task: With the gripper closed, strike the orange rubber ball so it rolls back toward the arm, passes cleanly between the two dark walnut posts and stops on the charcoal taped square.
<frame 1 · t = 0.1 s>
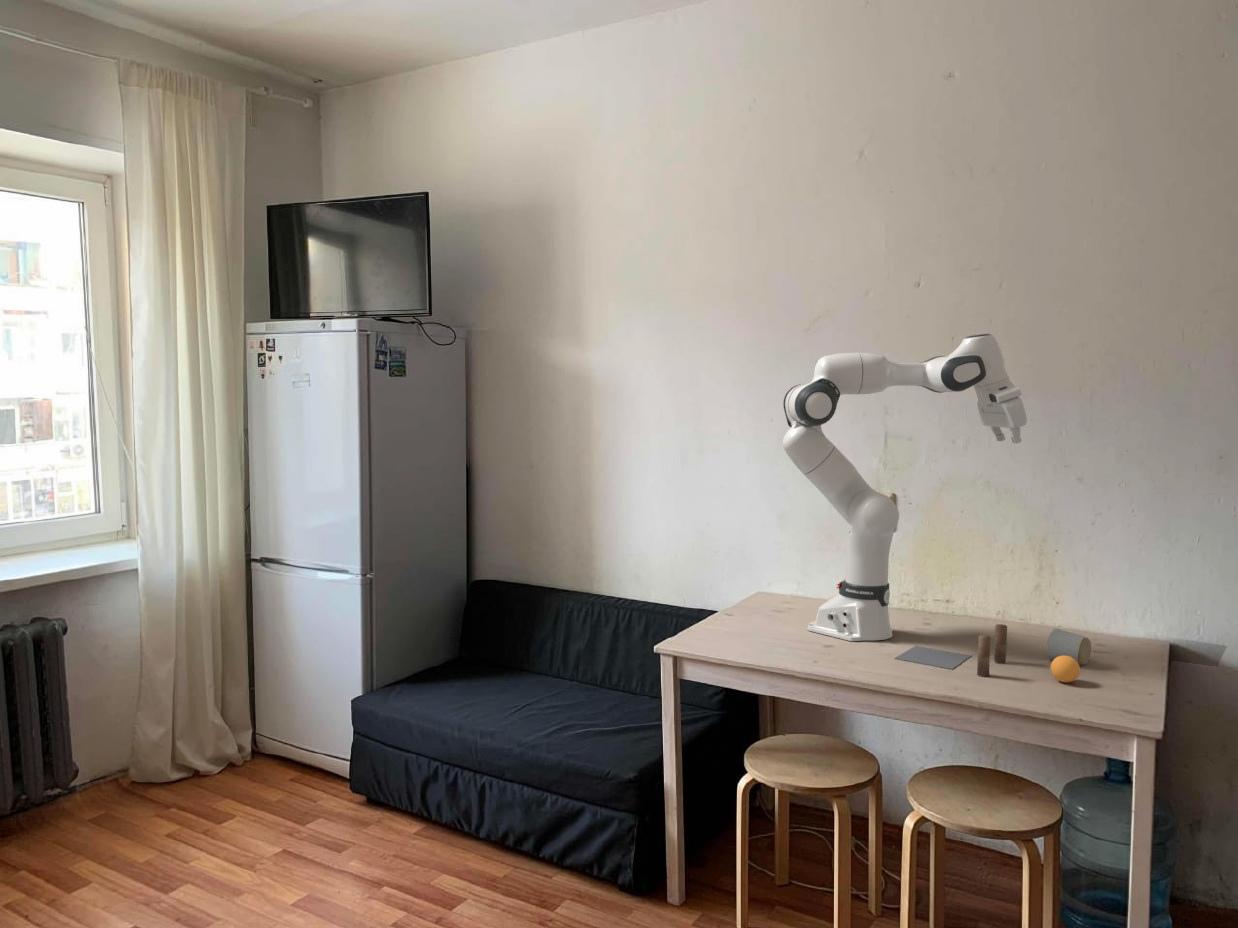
hand: (1009, 441, 247), 52 cm above the table, tool tilted 20°, fingers open, 8 cm apart
post near: (983, 674, 215), on the table
grey cylinder: (1069, 662, 226), on the table
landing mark: (933, 657, 229), on the table
post far: (999, 661, 225), on the table
ball: (1065, 668, 210), on the table
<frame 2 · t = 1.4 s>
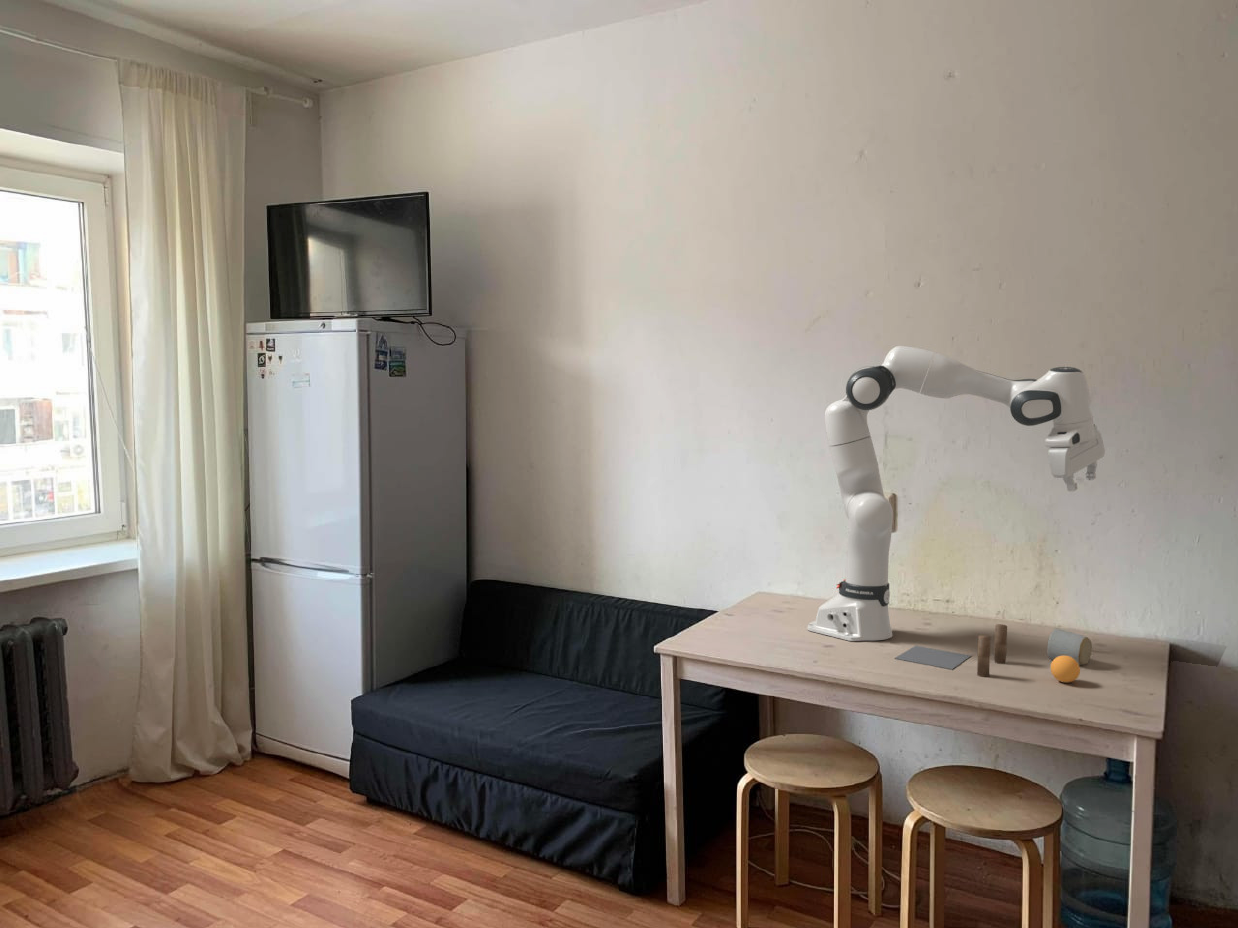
hand: (1082, 485, 231), 42 cm above the table, tool pointing down, fingers open, 8 cm apart
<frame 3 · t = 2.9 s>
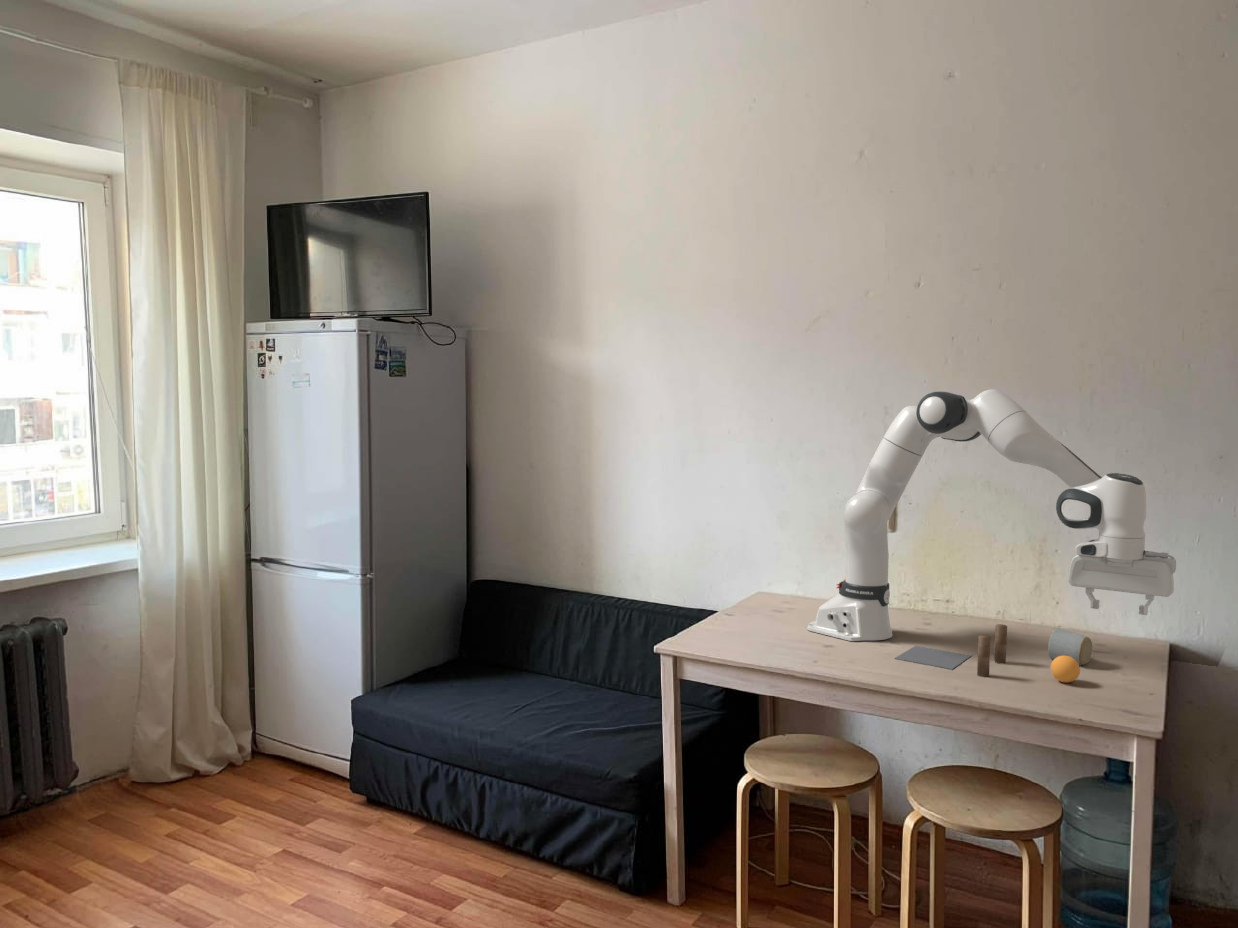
hand: (1118, 611, 203), 18 cm above the table, tool pointing down, fingers open, 8 cm apart
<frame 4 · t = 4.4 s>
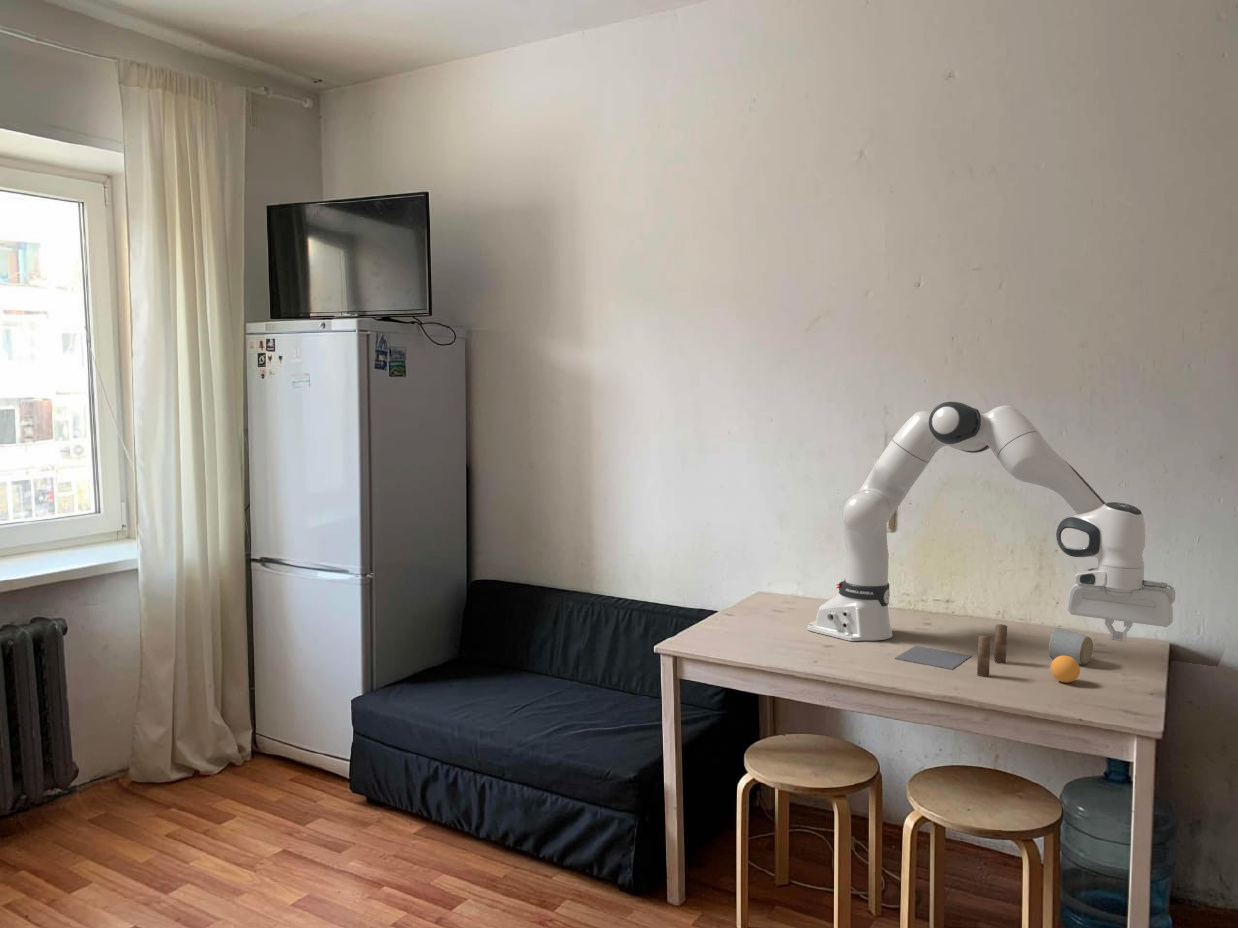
hand: (1118, 640, 203), 11 cm above the table, tool pointing down, fingers closed
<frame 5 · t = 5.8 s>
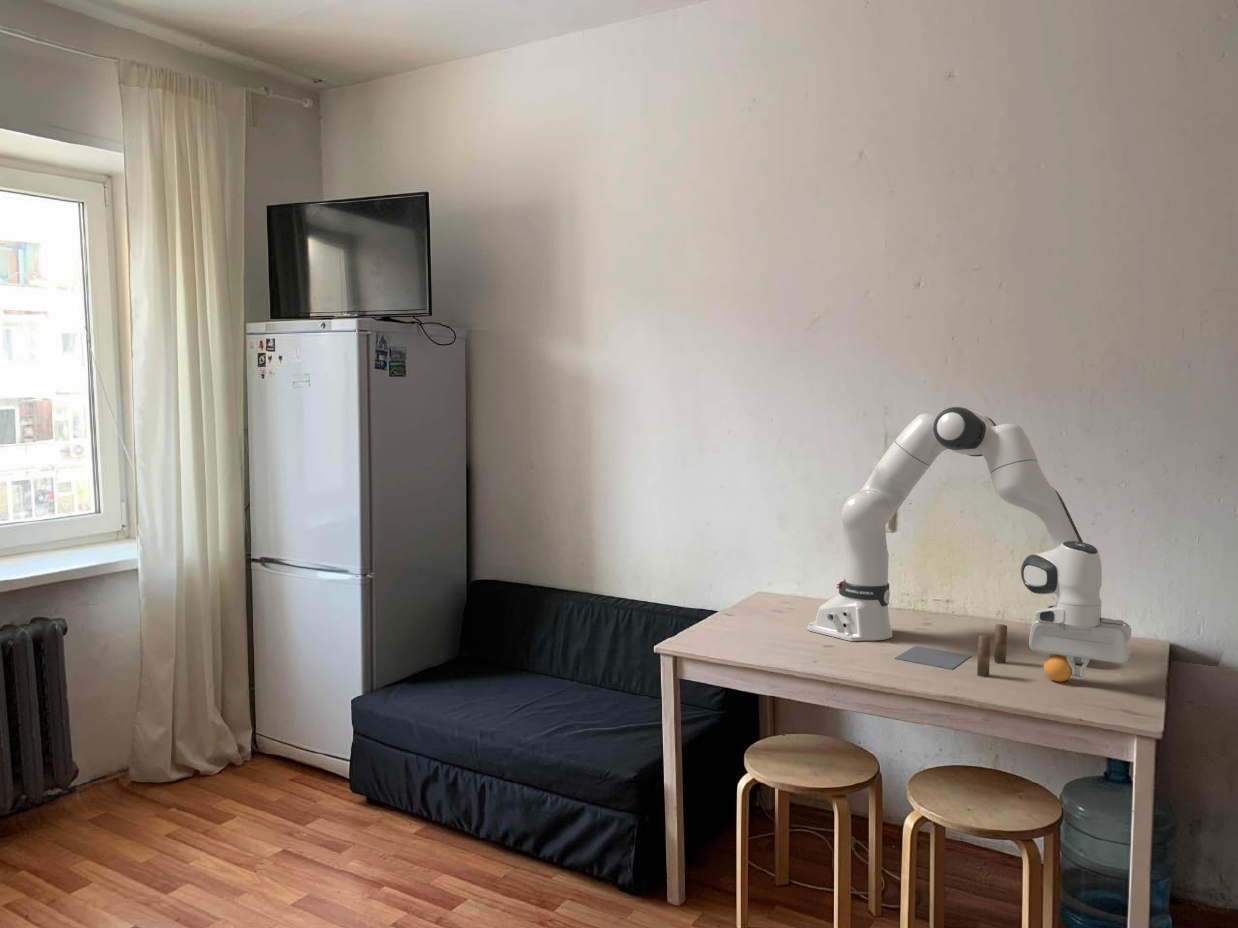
hand: (1077, 676, 208), 2 cm above the table, tool pointing down, fingers closed
ball: (1058, 667, 211), on the table, touching gripper
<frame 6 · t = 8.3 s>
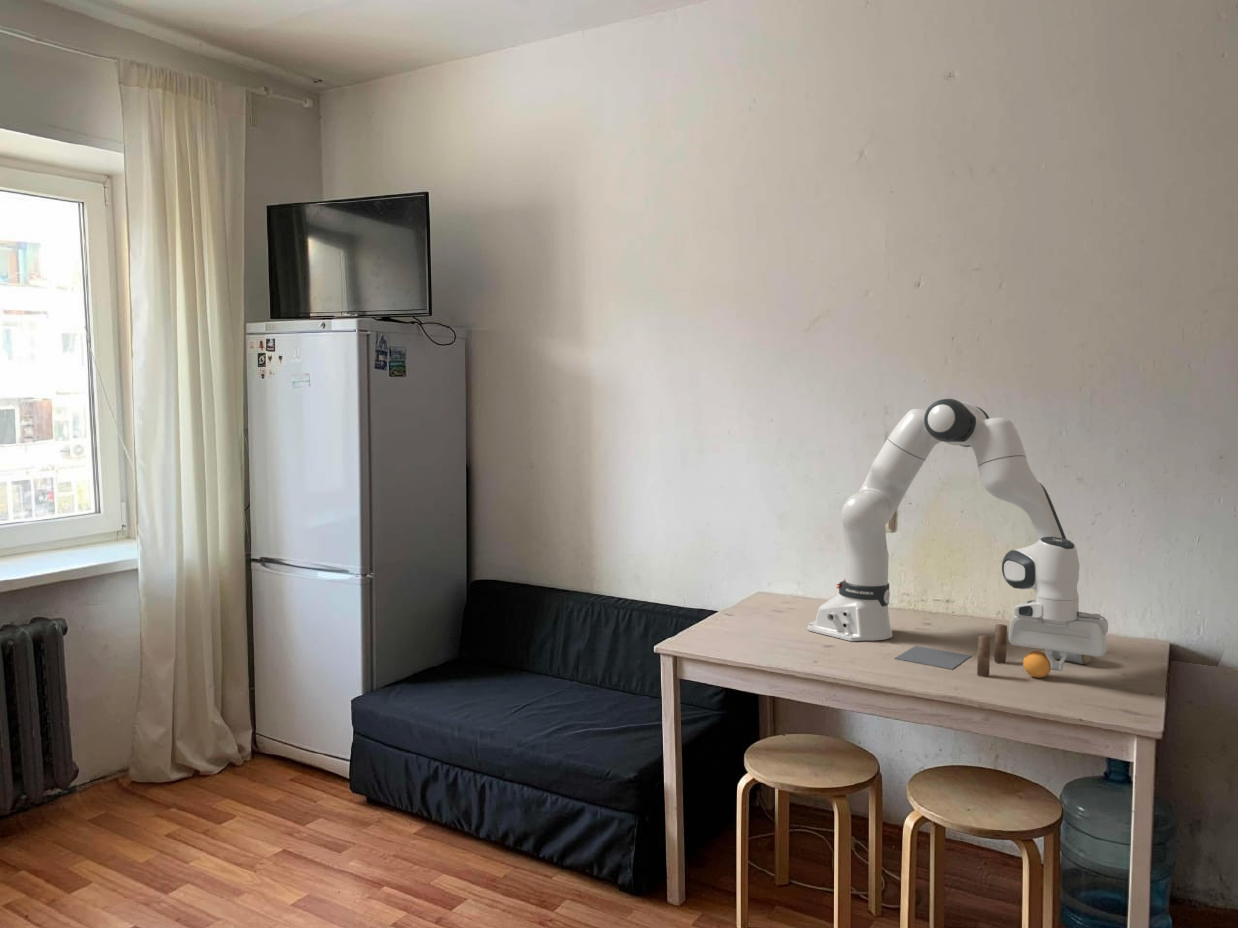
hand: (1056, 669, 211), 2 cm above the table, tool pointing down, fingers closed
ball: (1037, 664, 214), on the table, touching gripper
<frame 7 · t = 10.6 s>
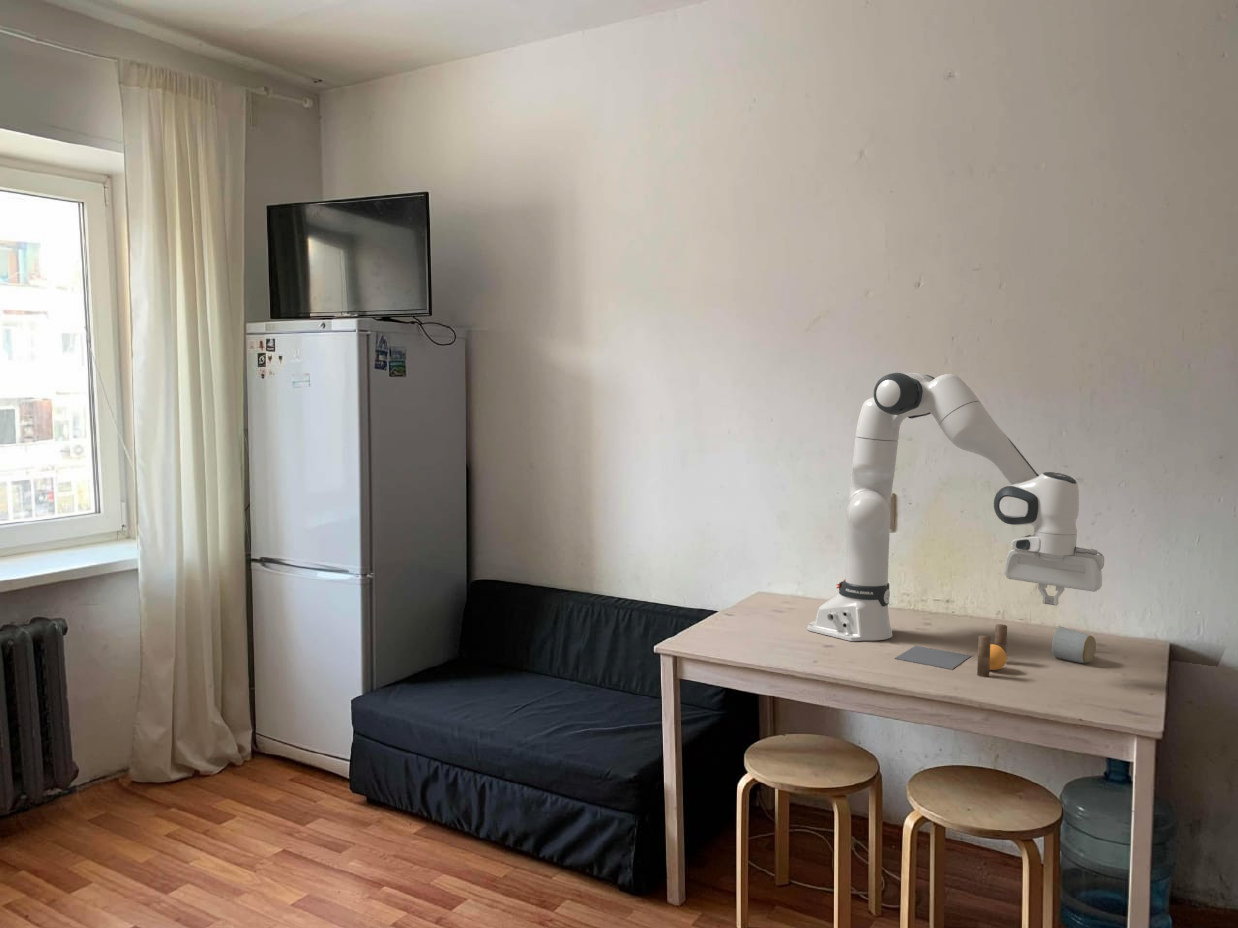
hand: (1050, 604, 212), 17 cm above the table, tool pointing down, fingers closed
ball: (992, 657, 219), on the table
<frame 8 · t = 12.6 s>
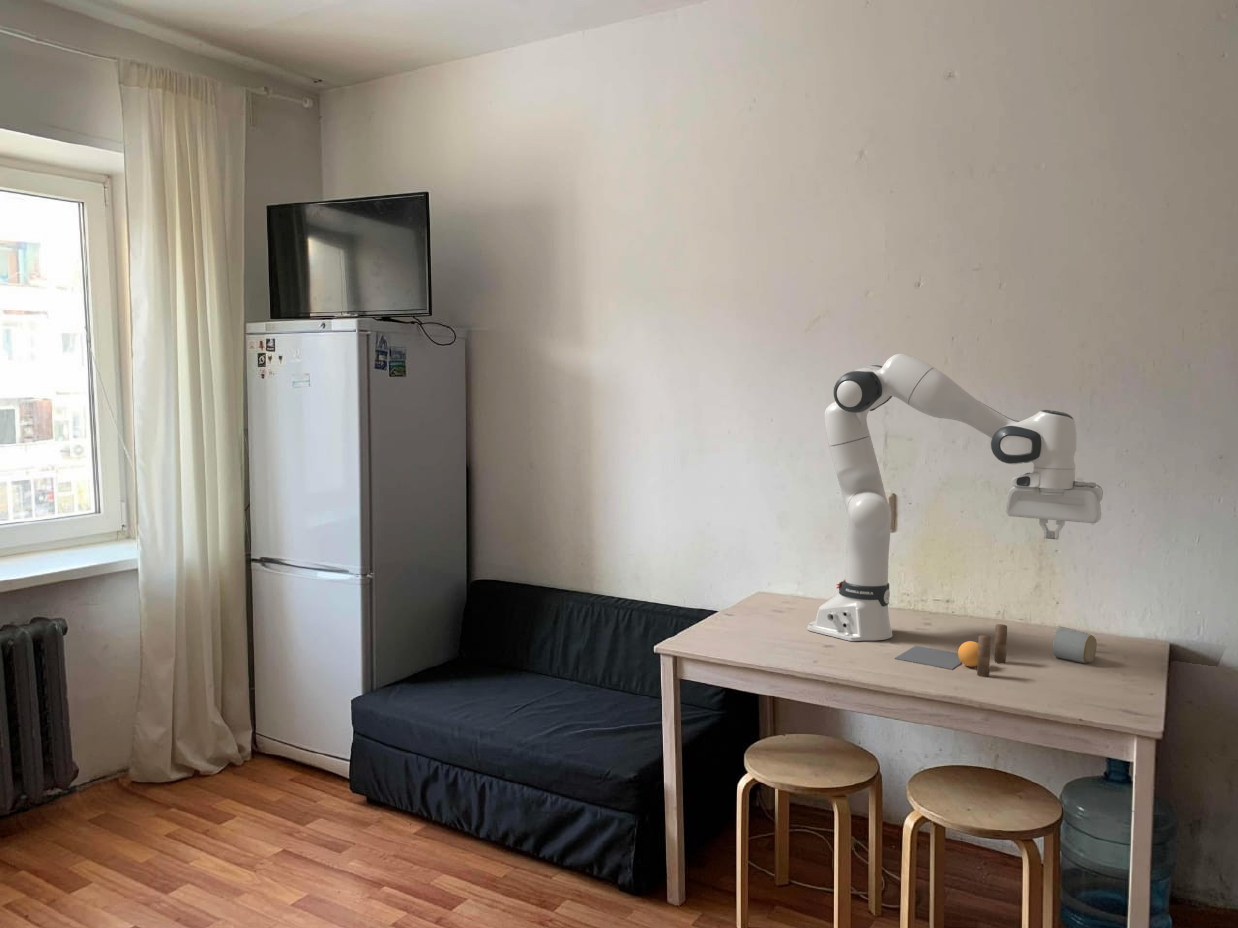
hand: (1051, 538, 218), 31 cm above the table, tool pointing down, fingers closed
ball: (971, 653, 221), on the table
at the end: ball 9.7 cm from the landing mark (horizontally); ball never touched post near; ball never touched post far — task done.
